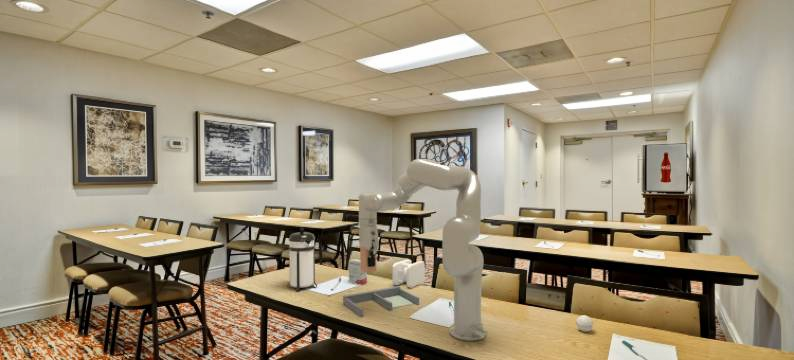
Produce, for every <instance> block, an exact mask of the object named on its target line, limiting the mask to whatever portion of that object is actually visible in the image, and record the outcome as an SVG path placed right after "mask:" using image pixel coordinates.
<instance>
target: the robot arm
mask: <svg viewBox="0 0 794 360" xmlns="http://www.w3.org/2000/svg"><path fill="white" fill-rule="evenodd" d="M425 187H429V188H433V189H436V190H439V191H440V190H441V191H455V190H457V191H458V194H457V198H456V202H455V208H456V209H455V211H456V213H455V216H454V217H451V218H449V219H448V220H447V221H446V223H445V224H444V226H443V229H442V246H441V247H442V248H441V249H442V250H441V252H442V255H441V256H442V257H441V259H442V267H443V269H444V271H445V272H446V274H448V276H450V277H452V278H454V282H453V325H451V327H450V328H449V334H450V335H451V336H452V337H453V338H455V339H458V340H461V341H467V342H469V341H471V342H474V341H480V340H483V339H484V338H485V337H486V336H487V335H488V331H487V330H485V328H484V323H482V281H483V278H482V277H483V276H482V275H483V270H484V269H483V268H484V263H485V262H484V260H485V259H484V255H483V252H482V250H481V249H480V248H479V247H478V246H476V245H473V244H471V242H473V241H475V240H476V239H478V238H479V237H480V235H481V230H482V229H481V228H482V226H481V222H482V221H481V219H482V217H481V213H482V211H481V209H482V208H481V206H482V205H481V204H482V203H481V200H482V199H481V198H482V197H481V196H482V188H481V187H482V186H481V182H480V180H479V177H478V176H477V174H476V173H475V172H474V171H473V170H471V169H470V168H468V167H465V166H461V165H443V164H438V162H437V161H435V160H433V159H427V158H426V159H425V158H417V159H414V160H412V161H410V163H409V164H408V165H407V168H406V172H405V173H403V174H402V175H400V177H399V178H398V187H396V188H394V189H393V190H391V191H389V192H378V193H373V192H363V193H359V195H358V226H359V234H358V235H359V236H358V243H359V247H364V248H366V249H367V250H368V267H373V266H375V256H376V257H377V252H378V250H379V247H380V246H379V245H380V244H379V232H378V227H377V225H378V224H377V223H378V219H377V217H378V216H377V215H378V214H377V212H380V213H381V212H385V211H393V210H396V209H398V208H400V207H401V206H403V205H404V204H406V203H407V202H408V201H409V200H410V199H411V198H412V196H413V195H414V194H416V193H417V192H419V191H420V190H422V189H424V188H425ZM370 248H373V249H371V250H370ZM370 251H372V252H371V254H370ZM375 254H376V255H375Z"/></svg>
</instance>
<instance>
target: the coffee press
mask: <svg viewBox="0 0 794 360" xmlns="http://www.w3.org/2000/svg"><path fill="white" fill-rule="evenodd" d="M315 239H316V236H314V234H313V233H311V232H308V231H305V229H304V227H300V228H299V232H294V233H291V234H290V235H289V238H288V243H289V245H288V251H289V252H288V253H289V256H288V257H289V259H288V260H289V261H288V262H289V282H288V284H287V288H288V287H290V288H291V287H293V288H296V289H295V292H297V293H299V292H300V290H301V288H308V287H312V288H314V287H316V288H317V287H318V284H317V283H316V275H315V273H316V272H315V271H316V269H315V267H316V266H315V265H316V264H315V262H316V261H315V259H316V258H315V257H316V254H315V249H316V246H315ZM289 285H290V286H289Z"/></svg>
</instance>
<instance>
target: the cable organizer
mask: <svg viewBox="0 0 794 360" xmlns="http://www.w3.org/2000/svg"><path fill="white" fill-rule="evenodd" d="M425 264H426V263H425V261H423V260H419V261H416V262H413V263H412V260H411V259H408V258H407V259H403V260H401V261H397V262H395V263H393V265H392V267H391V268H392V285H395V286H399V285H402V284H403V283H406V286H407V287H408V288H410V289H413V288H414V287H416V286H419V285H422V284H423V283H424V282H425V279H426V277H425V274H426V273H425V271H426V270H425ZM403 285H404V284H403Z"/></svg>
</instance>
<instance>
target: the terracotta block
mask: <svg viewBox="0 0 794 360" xmlns="http://www.w3.org/2000/svg"><path fill="white" fill-rule="evenodd" d="M359 247H360V246H359ZM371 249H373V248H370V250H371ZM371 252H372V251H370V254H371ZM359 253H360V255H359V257H360V259H359V260H360V264H361V271H363V272H365V273H372V272H377V253H376V254H375V255H376V256H375V266H373V267H368V250H367V249H366V248H364V247H360V249H359Z"/></svg>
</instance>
